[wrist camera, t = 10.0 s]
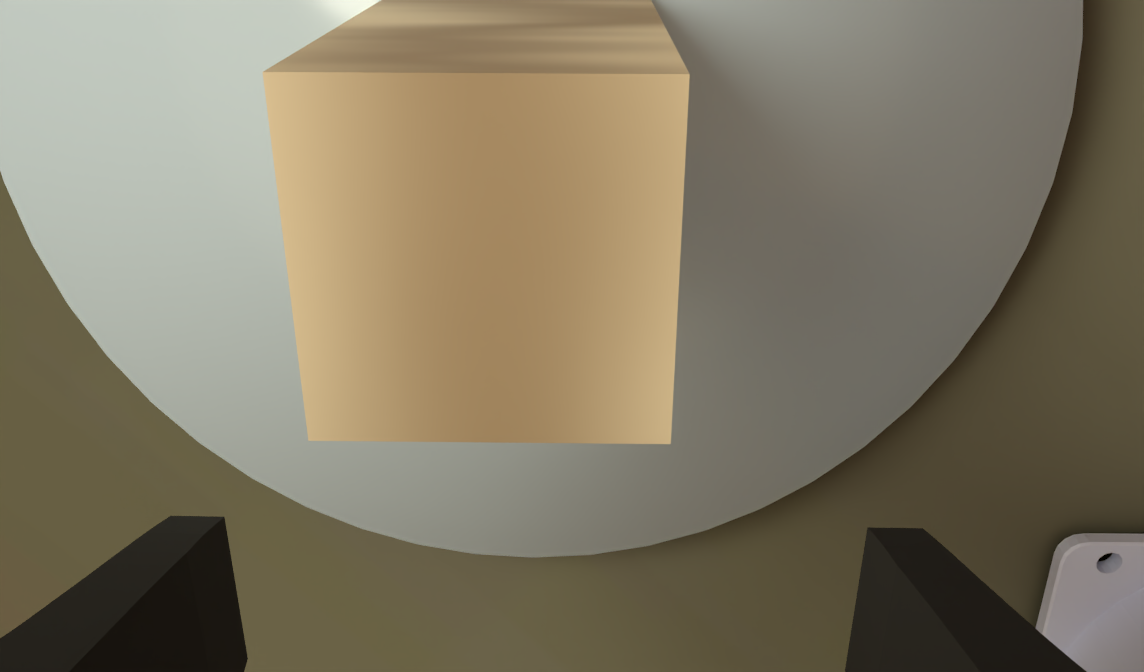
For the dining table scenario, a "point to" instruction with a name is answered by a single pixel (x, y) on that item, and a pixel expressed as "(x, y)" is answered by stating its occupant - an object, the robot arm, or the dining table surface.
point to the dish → (707, 261)
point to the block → (484, 220)
